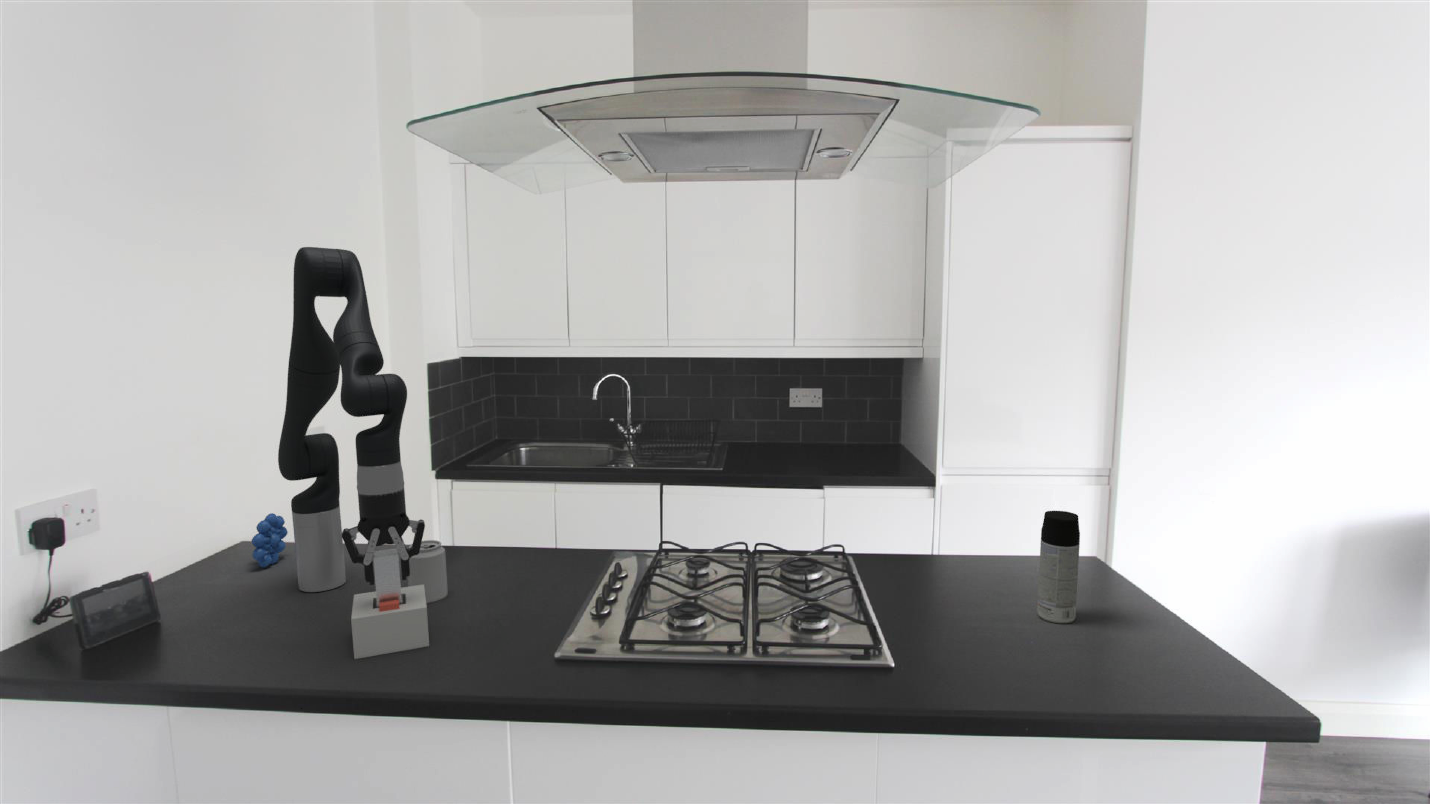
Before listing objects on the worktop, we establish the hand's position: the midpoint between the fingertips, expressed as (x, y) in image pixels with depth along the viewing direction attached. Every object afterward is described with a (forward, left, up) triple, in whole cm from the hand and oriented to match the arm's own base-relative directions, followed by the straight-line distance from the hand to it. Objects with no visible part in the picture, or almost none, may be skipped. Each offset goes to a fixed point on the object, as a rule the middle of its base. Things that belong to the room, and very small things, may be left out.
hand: (388, 580), depth 138 cm
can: (-19, +7, -12) cm, 24 cm away
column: (0, 0, -11) cm, 11 cm away
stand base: (0, 0, -12) cm, 12 cm away
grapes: (-59, -27, -12) cm, 66 cm away
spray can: (+41, +116, -12) cm, 124 cm away
